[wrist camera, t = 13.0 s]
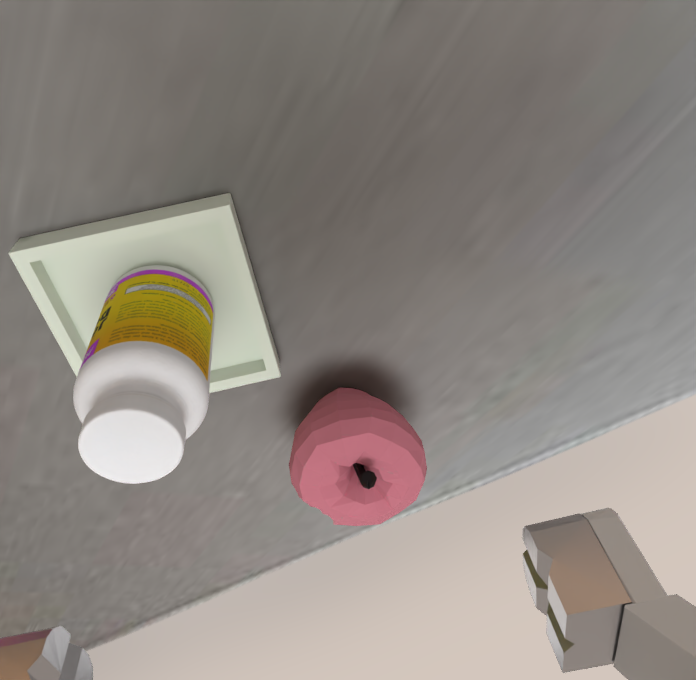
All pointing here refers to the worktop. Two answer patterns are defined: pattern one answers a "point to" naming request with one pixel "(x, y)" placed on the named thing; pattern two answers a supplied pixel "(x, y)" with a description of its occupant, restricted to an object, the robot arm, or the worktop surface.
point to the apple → (357, 459)
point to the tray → (145, 250)
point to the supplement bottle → (145, 374)
